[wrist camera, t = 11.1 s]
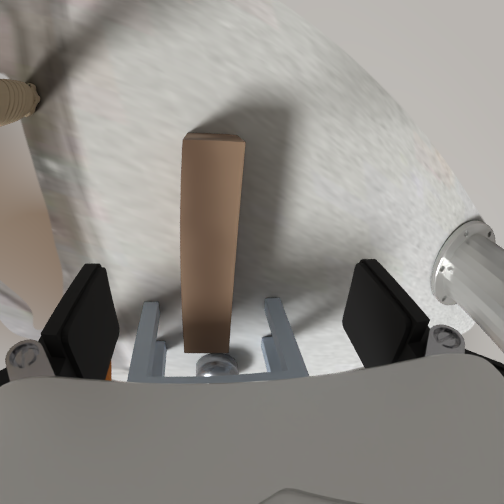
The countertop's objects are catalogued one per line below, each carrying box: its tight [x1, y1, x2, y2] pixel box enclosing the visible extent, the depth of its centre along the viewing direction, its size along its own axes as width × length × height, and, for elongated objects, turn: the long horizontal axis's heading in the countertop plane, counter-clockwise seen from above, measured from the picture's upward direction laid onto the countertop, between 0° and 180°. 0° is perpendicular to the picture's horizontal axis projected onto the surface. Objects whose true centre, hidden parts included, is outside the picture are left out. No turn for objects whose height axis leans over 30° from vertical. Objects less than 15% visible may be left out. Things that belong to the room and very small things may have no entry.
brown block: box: [180, 133, 246, 353], centre depth 25 cm, size 4×18×6 cm, turn 175°
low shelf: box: [127, 298, 309, 384], centre depth 27 cm, size 14×7×12 cm, turn 87°
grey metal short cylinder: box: [196, 353, 239, 377], centre depth 34 cm, size 5×5×2 cm
